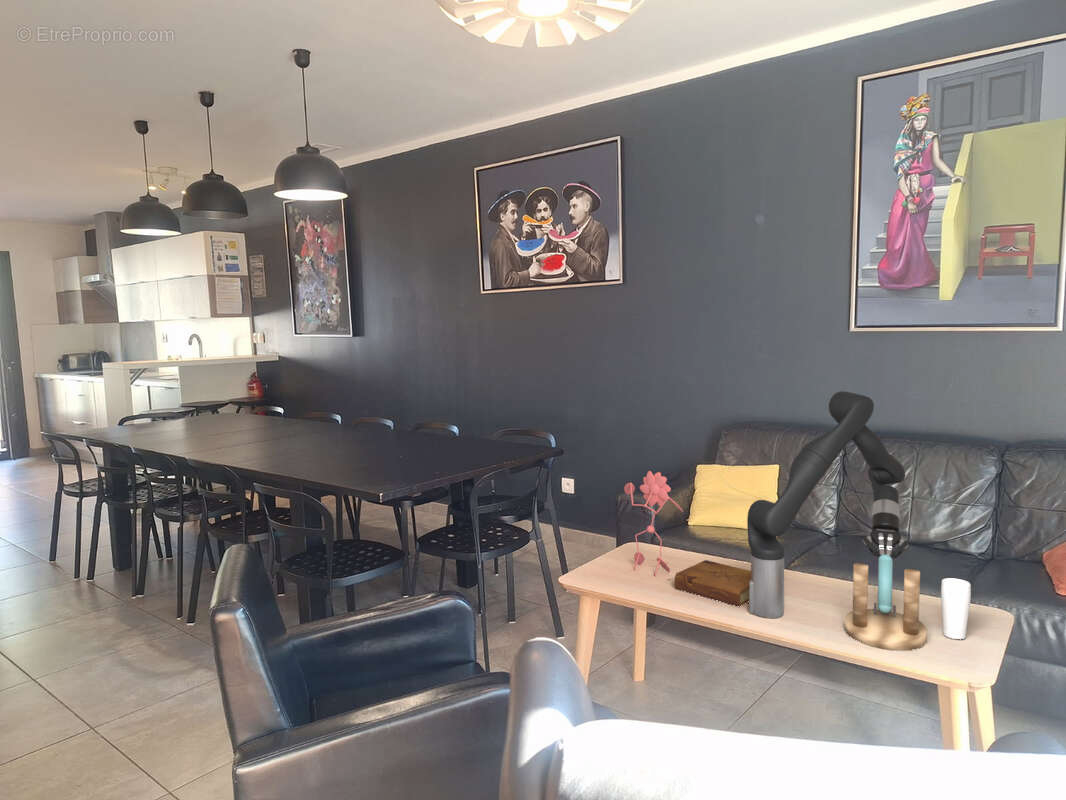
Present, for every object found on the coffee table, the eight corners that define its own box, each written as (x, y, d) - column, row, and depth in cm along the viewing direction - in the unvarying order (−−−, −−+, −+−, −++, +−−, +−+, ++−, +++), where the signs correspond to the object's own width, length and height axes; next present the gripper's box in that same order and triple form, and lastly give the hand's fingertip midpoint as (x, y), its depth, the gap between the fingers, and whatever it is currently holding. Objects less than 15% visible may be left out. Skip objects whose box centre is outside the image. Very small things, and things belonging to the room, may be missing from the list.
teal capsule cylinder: (877, 611, 193) (878, 552, 199) (877, 613, 196) (878, 555, 202) (892, 613, 191) (892, 553, 197) (891, 615, 194) (892, 556, 200)
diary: (674, 591, 225) (674, 574, 225) (705, 576, 238) (705, 560, 238) (739, 609, 209) (739, 590, 208) (768, 592, 222) (768, 574, 221)
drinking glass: (936, 636, 186) (938, 582, 184) (943, 629, 191) (945, 576, 189) (965, 644, 181) (967, 588, 180) (972, 636, 186) (974, 581, 184)
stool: (842, 642, 184) (843, 570, 182) (845, 614, 202) (847, 549, 200) (929, 656, 175) (931, 581, 173) (924, 626, 193) (926, 557, 191)
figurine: (673, 582, 231) (674, 479, 228) (614, 565, 250) (614, 469, 247) (700, 572, 241) (701, 473, 238) (641, 556, 260) (641, 464, 257)
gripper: (861, 509, 214) (860, 559, 204) (910, 513, 208) (911, 565, 198) (861, 522, 219) (860, 571, 209) (909, 526, 213) (910, 577, 203)
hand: (885, 568), depth 203 cm, fingers closed
